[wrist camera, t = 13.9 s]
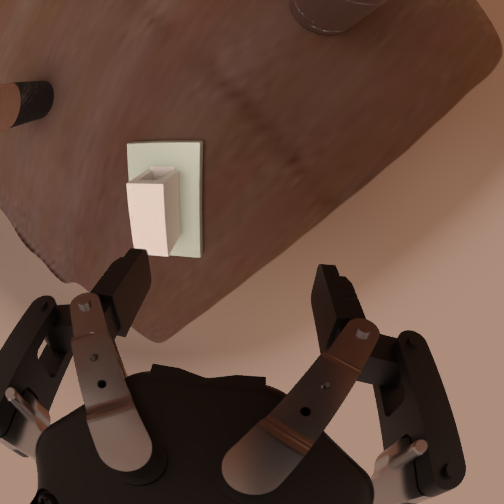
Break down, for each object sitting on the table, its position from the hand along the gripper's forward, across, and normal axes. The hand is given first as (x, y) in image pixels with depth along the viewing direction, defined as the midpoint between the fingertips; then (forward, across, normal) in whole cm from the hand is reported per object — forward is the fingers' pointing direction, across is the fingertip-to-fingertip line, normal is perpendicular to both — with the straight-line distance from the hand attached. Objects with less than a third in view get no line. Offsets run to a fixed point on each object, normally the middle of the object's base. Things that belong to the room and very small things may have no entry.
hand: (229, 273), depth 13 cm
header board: (+28, +12, +7) cm, 32 cm away
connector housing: (+26, +12, +7) cm, 30 cm away
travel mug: (+28, +38, -12) cm, 49 cm away
